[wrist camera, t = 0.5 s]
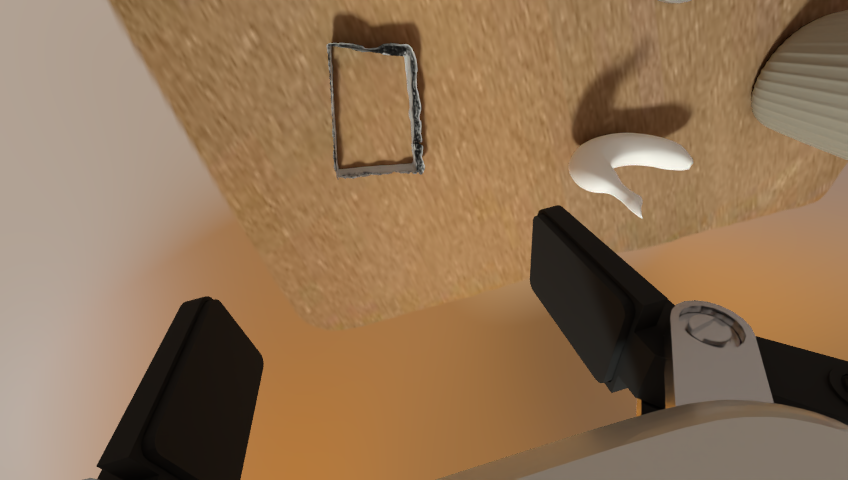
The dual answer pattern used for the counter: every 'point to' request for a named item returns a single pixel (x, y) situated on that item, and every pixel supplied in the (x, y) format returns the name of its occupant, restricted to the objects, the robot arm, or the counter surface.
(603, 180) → the banana
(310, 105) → the counter surface
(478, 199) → the counter surface
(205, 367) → the robot arm
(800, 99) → the canister
